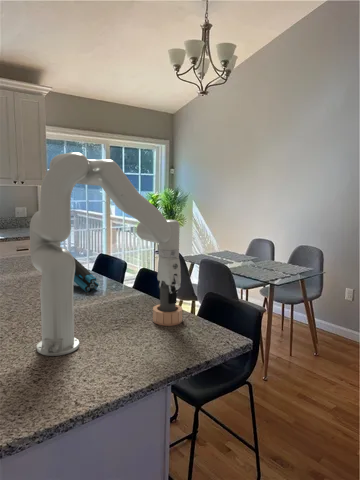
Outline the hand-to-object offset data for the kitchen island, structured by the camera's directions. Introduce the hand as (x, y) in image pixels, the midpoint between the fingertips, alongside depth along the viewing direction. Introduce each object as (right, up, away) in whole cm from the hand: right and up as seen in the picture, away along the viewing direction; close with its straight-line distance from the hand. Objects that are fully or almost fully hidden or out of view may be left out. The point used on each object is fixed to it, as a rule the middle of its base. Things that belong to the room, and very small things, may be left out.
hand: (167, 300), depth 139 cm
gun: (-46, -1, +45) cm, 65 cm away
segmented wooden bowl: (0, -8, +1) cm, 8 cm away
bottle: (0, -6, +1) cm, 6 cm away
